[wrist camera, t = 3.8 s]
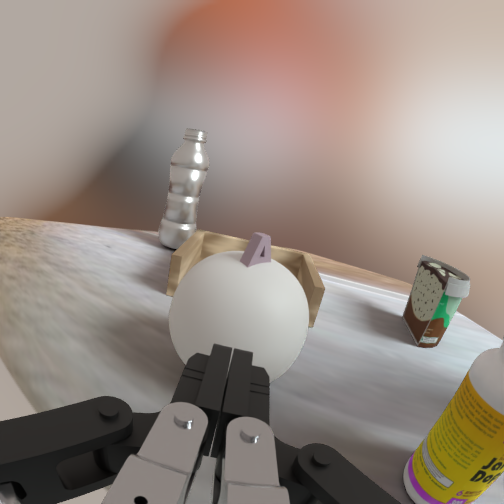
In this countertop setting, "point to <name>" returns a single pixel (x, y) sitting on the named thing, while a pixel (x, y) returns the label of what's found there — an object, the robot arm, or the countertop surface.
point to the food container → (434, 300)
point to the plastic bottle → (184, 189)
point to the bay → (214, 243)
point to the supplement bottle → (463, 440)
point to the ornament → (241, 308)
